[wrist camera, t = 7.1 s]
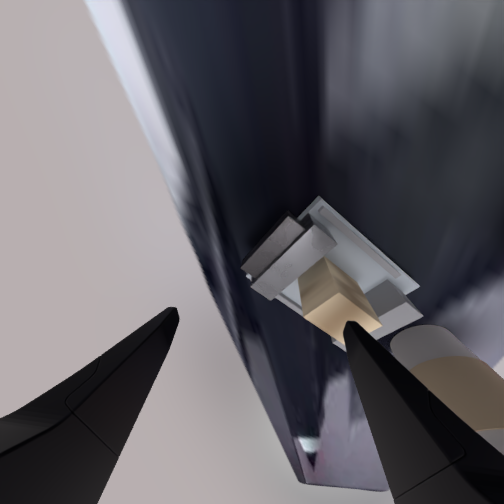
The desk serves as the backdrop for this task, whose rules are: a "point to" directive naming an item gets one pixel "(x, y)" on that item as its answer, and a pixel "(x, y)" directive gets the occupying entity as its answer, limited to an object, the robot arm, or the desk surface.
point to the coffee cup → (455, 378)
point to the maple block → (334, 300)
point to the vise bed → (361, 273)
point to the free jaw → (286, 253)
